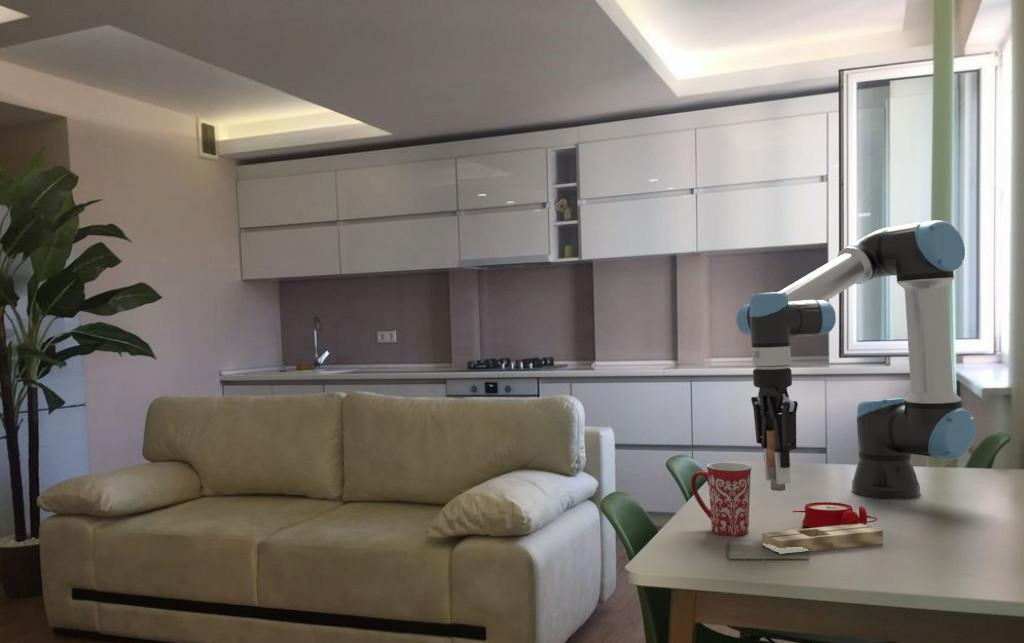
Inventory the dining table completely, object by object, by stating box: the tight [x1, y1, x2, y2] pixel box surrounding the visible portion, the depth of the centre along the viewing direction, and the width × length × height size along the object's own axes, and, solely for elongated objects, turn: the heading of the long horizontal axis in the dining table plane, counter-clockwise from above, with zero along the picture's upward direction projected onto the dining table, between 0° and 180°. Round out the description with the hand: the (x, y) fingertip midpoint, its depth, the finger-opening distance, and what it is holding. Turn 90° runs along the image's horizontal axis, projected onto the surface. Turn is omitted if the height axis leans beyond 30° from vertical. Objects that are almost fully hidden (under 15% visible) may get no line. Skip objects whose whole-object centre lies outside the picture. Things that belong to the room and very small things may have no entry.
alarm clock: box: [792, 501, 878, 528], centre depth 158 cm, size 10×6×15 cm
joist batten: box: [761, 522, 884, 553], centre depth 147 cm, size 22×6×3 cm, turn 104°
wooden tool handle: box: [767, 430, 786, 492], centre depth 159 cm, size 3×3×12 cm
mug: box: [690, 461, 752, 537], centre depth 160 cm, size 13×9×14 cm
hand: (777, 481), depth 159 cm, fingers closed on wooden tool handle, 3 cm apart
